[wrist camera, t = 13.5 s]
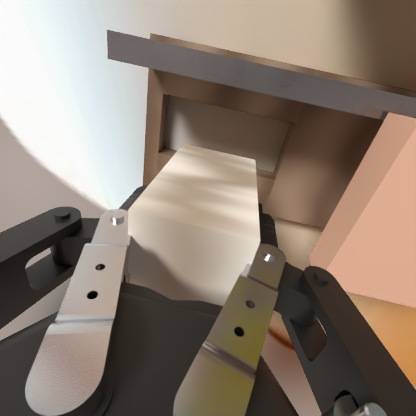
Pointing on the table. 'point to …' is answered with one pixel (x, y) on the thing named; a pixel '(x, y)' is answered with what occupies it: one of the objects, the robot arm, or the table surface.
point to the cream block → (195, 226)
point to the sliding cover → (377, 220)
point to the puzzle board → (273, 108)
